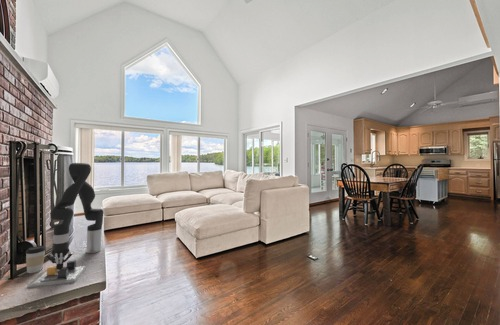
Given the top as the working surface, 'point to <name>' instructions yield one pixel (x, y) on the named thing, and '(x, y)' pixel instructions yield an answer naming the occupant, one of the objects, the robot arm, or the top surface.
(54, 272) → the toggle
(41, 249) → the coffee cup
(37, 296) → the top surface
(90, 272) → the top surface
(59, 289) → the top surface
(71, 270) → the breaker panel
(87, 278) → the top surface
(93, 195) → the robot arm
